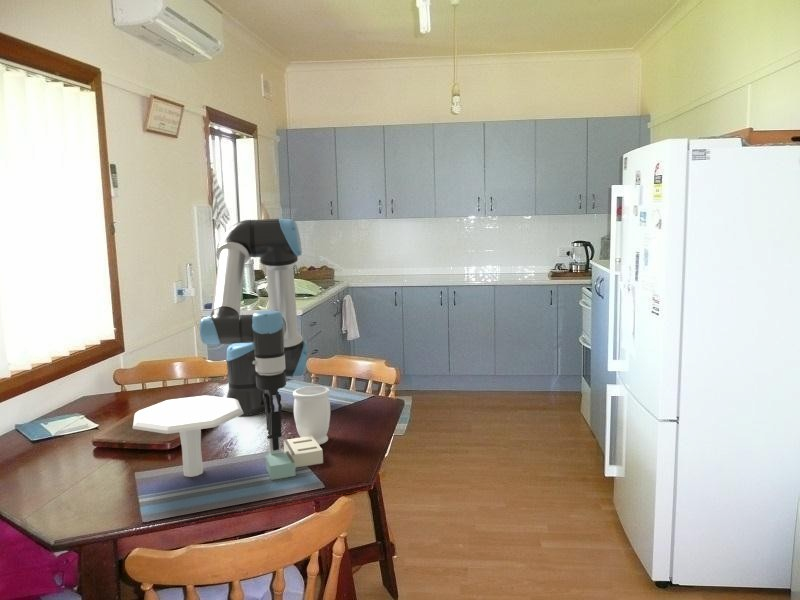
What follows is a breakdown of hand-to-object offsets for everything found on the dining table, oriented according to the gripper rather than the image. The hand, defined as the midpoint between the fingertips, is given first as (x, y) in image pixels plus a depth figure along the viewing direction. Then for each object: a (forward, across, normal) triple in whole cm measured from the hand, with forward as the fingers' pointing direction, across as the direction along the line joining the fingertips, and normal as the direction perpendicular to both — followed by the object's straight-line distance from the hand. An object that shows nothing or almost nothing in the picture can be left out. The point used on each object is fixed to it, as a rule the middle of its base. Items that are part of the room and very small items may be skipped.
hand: (275, 460), depth 165 cm
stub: (+2, +5, 0) cm, 5 cm away
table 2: (+2, -4, -20) cm, 21 cm away
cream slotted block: (+2, -3, +8) cm, 8 cm away
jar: (+2, -14, +13) cm, 19 cm away
